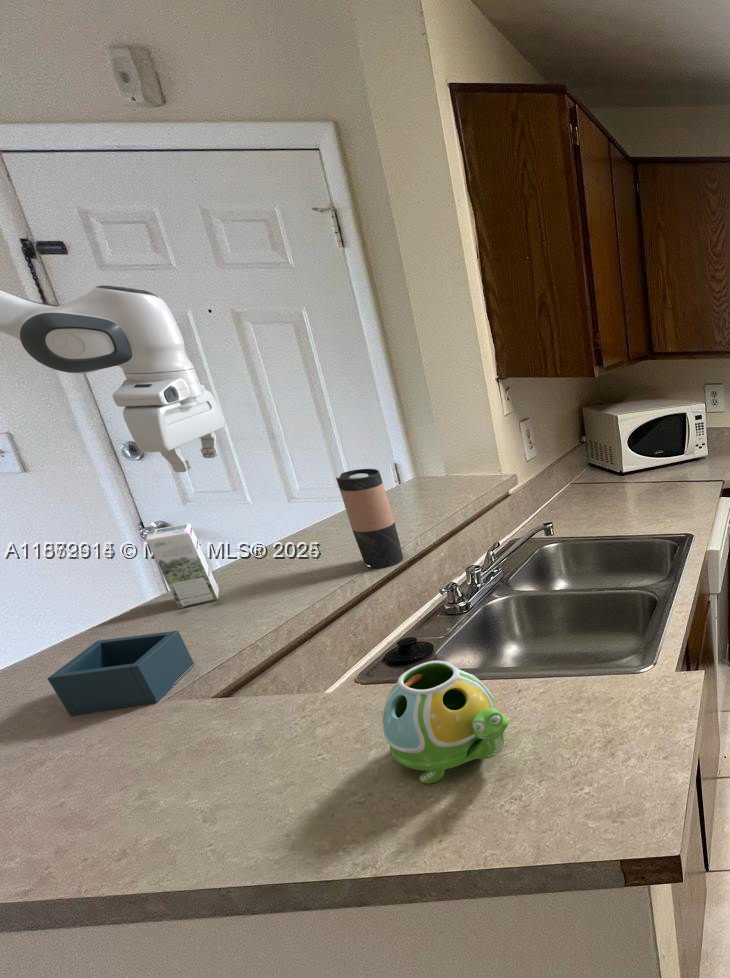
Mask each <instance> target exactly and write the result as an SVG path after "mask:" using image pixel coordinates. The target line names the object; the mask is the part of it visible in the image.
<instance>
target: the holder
mask: <svg viewBox="0 0 730 978" xmlns="http://www.w3.org/2000/svg"><path fill="white" fill-rule="evenodd" d="M193 664H194V665H193ZM192 665H193V666H192ZM191 666H192V667H191ZM190 667H191V668H190ZM194 667H195V662H194V660H193V658H192V656H191V654H190V652H189V650H188V647H187V646H186V643H185V642H184V640H183V637H182V635H181V634H180V631H179V630H172V631H163V632H157V633H155V632H154V633H149V634H140V635H131V636H124V637H116V638H108V639H97V640H96V641H95V642H94V643H93V642H92V644H91V645H90V646H88V647H86V648H85V649H84V650H83V651H81V652H80V653H79V654H77V655H76V656H75V657H73V658H72V659H71V660H70V661H67V663H65V664H64V665H62V667H60V668H59V669H57V670H56V671H55V672H53V674H51V675H50V676H48V677H47V679H46V680H47V681H48V683H49V684H50V685H51V687H52V689H53V690H54V692H55V694H56V696H57V697H58V699H59V700H60V702H61V703H62V705H63V706H64V708H65V710H66V711H67V713H68V715H69V716H76V715H84V714H89V713H97V712H104V711H110V710H117V709H125V708H129V707H131V708H132V707H137V706H142V705H150V704H156V703H158V702H160V701H161V700H162V698H164V697H165V695H167V694H168V693H169V692H170V691H171V690H172V688H173V687H174V686H175V685H176V684H177V683H178V682H180V680H182V678H184V676H186V675H187V673H188V672H189V671H190V670H191V669H192V668H194ZM189 668H190V669H189ZM188 669H189V670H188ZM187 670H188V671H187ZM186 671H187V672H186ZM185 672H186V673H185ZM184 673H185V674H184ZM183 674H184V675H183ZM182 675H183V676H182ZM181 676H182V677H181ZM180 677H181V678H180ZM179 678H180V679H179ZM178 679H179V680H178ZM177 680H178V681H177ZM176 681H177V682H176ZM175 682H176V683H175ZM174 683H175V684H174ZM172 685H173V686H172Z"/></svg>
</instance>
